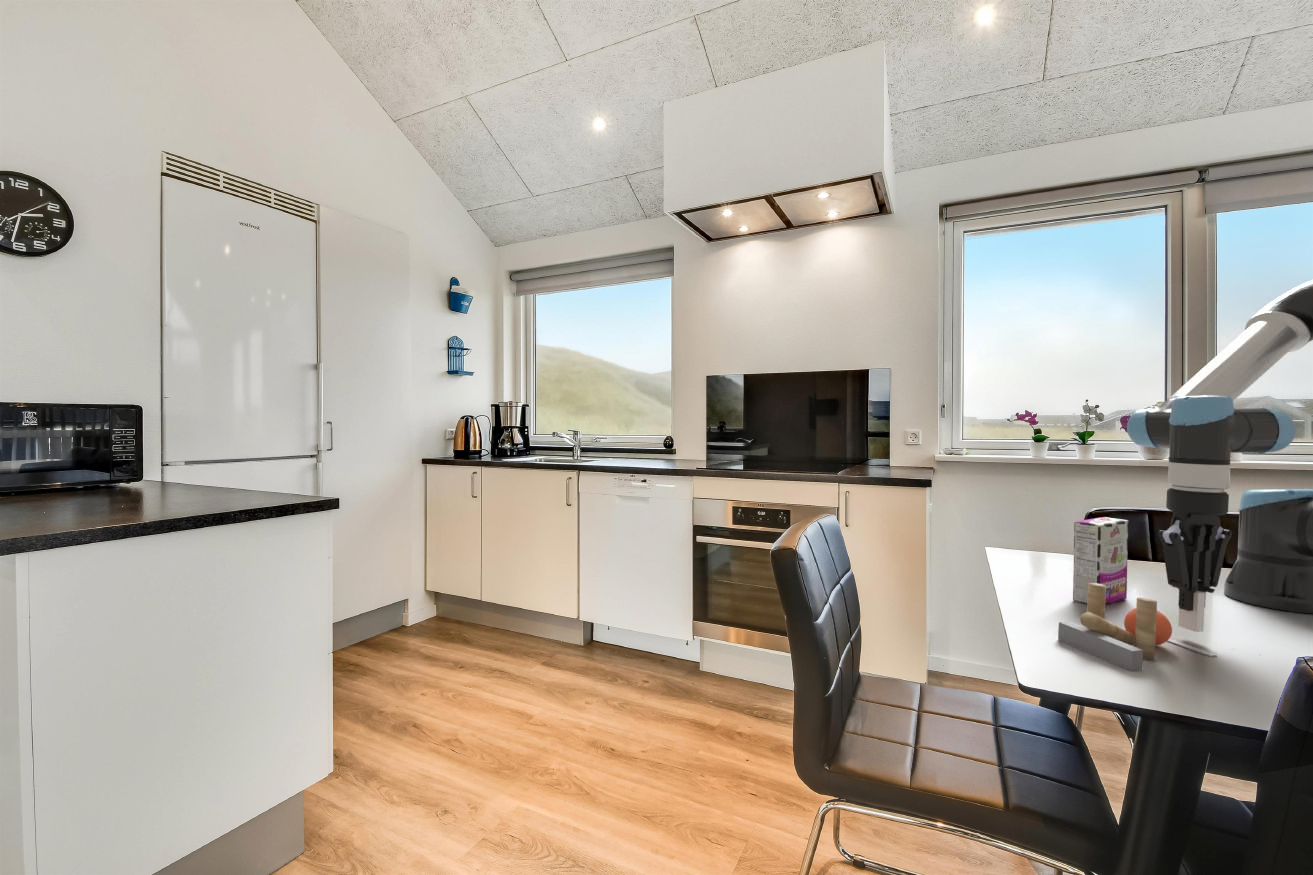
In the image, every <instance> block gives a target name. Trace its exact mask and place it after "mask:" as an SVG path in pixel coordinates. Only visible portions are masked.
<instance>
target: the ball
mask: <svg viewBox="0 0 1313 875" xmlns="http://www.w3.org/2000/svg"><path fill="white" fill-rule="evenodd" d="M1123 625H1124V630H1126V631H1128V632H1130V633H1132V634H1133V635H1134V636H1135V628H1136V607H1135V608H1133V609H1131V610H1129V611H1128V612H1127V613H1126V615H1125V616H1124V620H1123ZM1172 633H1173V627H1172V624H1171V622H1170V620H1169V618H1168V617H1167V616H1166V615H1165V614H1164V613H1162V612H1160V611H1159V610H1157V616H1156V638H1155V646H1161V645H1162V644H1165V643H1166V642H1168V640H1169V638H1170V639H1171V636H1172Z"/></svg>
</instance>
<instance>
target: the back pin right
mask: <svg viewBox="0 0 1313 875" xmlns="http://www.w3.org/2000/svg"><path fill="white" fill-rule="evenodd" d="M1105 599H1106V586H1105V585H1102V584H1098V583H1088V599H1087V604H1086V612H1090V613H1093V614H1095V615H1097V616H1099V617H1101V618H1103V619H1104V620H1106V605H1105ZM1085 628H1087V627H1085ZM1088 629H1089V628H1088ZM1090 630H1091V629H1090Z"/></svg>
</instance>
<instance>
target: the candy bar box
mask: <svg viewBox="0 0 1313 875" xmlns="http://www.w3.org/2000/svg"><path fill="white" fill-rule="evenodd" d="M1073 522H1074V524H1073V525H1074V527H1073V528H1074V533H1073V540H1074V541H1073V575H1072V576H1073V577H1072V578H1073V579H1072V580H1073V583H1072V584H1073V585H1072V586H1073V588H1072V600H1073V601H1074V602H1077V603H1080V604H1084V605H1087V599H1088V583H1098V584H1102V585H1105V586H1106V599H1105V606H1107V605H1110V604H1114V603H1118V602H1121V601H1123V600H1127V599H1128V597H1127V594H1128V593H1127V591H1128V588H1127V587H1128V554H1129V553H1128V549H1129V547H1128V546H1129V545H1128V544H1129V520H1128V519H1122V518H1116V517H1115V518H1114V517H1110V516H1108V517H1107V516H1103V517H1095V518H1090V519H1089V518H1088V519H1084V520H1078V521H1077V520H1076V521H1073Z"/></svg>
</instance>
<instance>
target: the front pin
mask: <svg viewBox="0 0 1313 875" xmlns="http://www.w3.org/2000/svg"><path fill="white" fill-rule="evenodd" d="M1079 621H1080V625H1081V626H1082V627H1085V628H1086V627H1087V628H1089V629H1091V630H1093V631H1095V632H1098V633H1101V634H1103V635H1106V636H1108V637H1111V638H1114V639H1116V640H1119V641H1121V642H1124V643H1126V644H1129V645H1132V646H1135V636H1134V635H1133V634H1132V633H1130V632H1128V631H1126V629H1125V628H1122V627H1121V626H1119V625H1116V624H1114V623H1112V622H1111V621H1108V620H1106V619H1105V620H1104V619H1103V618H1101V617H1099V616H1097V615H1095V614H1093V613H1090V612H1087V611H1086V612H1084V613H1083V614H1081V616H1080V620H1079Z"/></svg>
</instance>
